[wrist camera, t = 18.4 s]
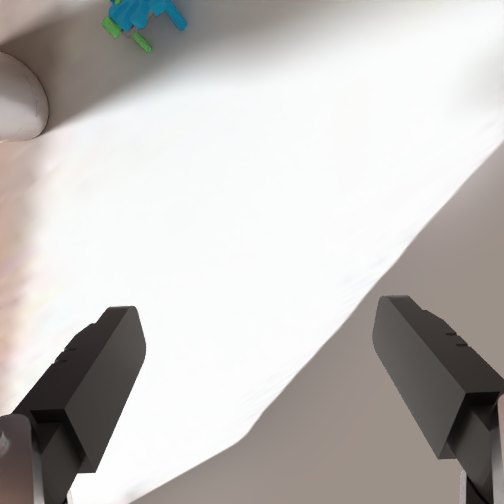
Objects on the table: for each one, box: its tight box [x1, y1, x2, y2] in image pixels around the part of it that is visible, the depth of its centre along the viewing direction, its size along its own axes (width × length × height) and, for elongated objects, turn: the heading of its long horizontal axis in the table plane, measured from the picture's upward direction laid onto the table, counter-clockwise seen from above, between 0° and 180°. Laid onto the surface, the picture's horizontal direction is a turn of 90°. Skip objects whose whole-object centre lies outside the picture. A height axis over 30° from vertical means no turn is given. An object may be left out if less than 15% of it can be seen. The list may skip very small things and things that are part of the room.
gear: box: [102, 0, 187, 53], centre depth 27 cm, size 11×6×10 cm
